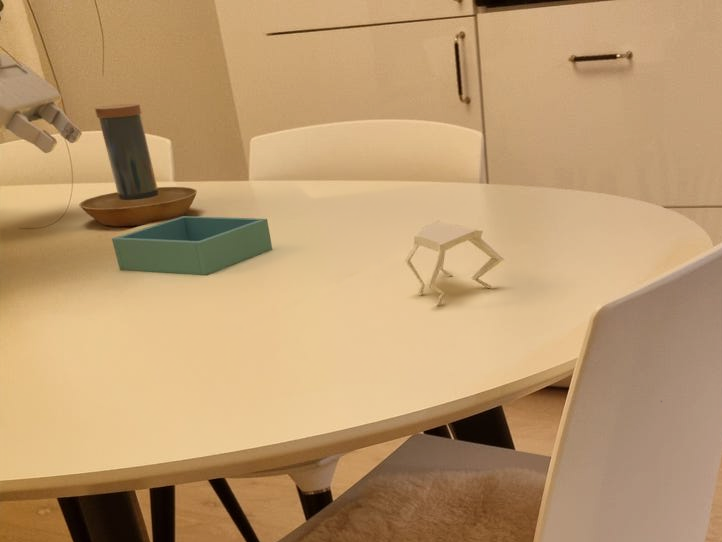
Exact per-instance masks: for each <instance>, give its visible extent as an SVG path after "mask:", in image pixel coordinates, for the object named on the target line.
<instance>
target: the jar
mask: <svg viewBox="0 0 722 542" xmlns="http://www.w3.org/2000/svg"><path fill="white" fill-rule="evenodd" d="M141 107H142V106H141V104H140V103H121V104H120V103H119V104H110V105H102V106H97V107H94V112H95V116H96V118H98V121H99V124H100V128H101V133H102V137H103V140H104V144H105V148H106V149H105V150H106V152H107V157H108V161H109V165H110V168H111V172H112V176H113V180H114V184H115V188H116V192H117V193H118V197H119V199H121V200H137V199H145V198H151V197H154V196H157V195H159V193H158V188H157V187H158V185H157V181H156V176H155V171H154V167H153V163H152V158H151V154H150V149H149V145H148V141H147V136H146V132H145V128H144V127H145V126H144V123H143V118H142V114H143V112H142V108H141Z"/></svg>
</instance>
